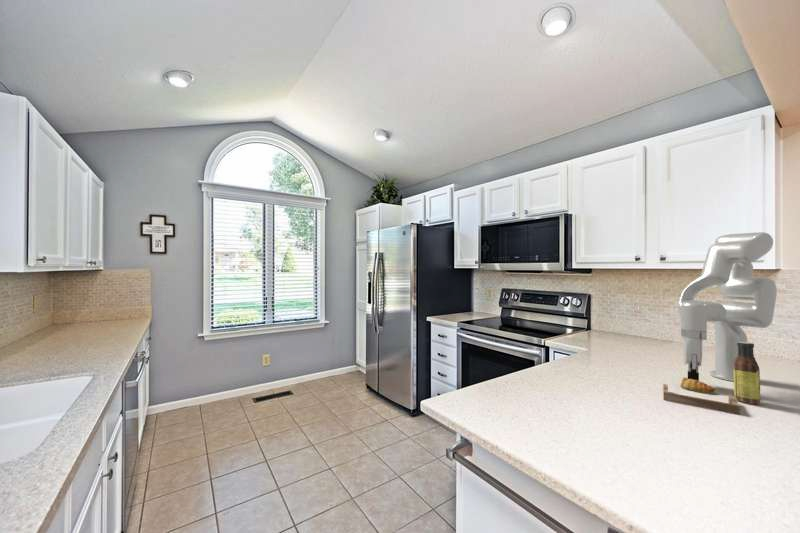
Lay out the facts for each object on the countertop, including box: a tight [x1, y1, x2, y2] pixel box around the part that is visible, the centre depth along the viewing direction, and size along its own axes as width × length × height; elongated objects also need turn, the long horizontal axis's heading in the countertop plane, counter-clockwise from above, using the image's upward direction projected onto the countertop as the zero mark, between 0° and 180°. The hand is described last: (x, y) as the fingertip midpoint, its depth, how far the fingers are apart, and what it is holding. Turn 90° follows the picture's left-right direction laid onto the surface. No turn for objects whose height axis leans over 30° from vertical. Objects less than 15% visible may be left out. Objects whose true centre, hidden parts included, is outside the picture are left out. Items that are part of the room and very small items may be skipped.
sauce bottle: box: [733, 341, 761, 405], centre depth 114 cm, size 7×6×20 cm
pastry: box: [679, 377, 716, 395], centre depth 125 cm, size 9×7×4 cm
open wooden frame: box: [662, 383, 741, 415], centre depth 113 cm, size 11×18×2 cm, turn 52°
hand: (693, 382), depth 130 cm, fingers closed
